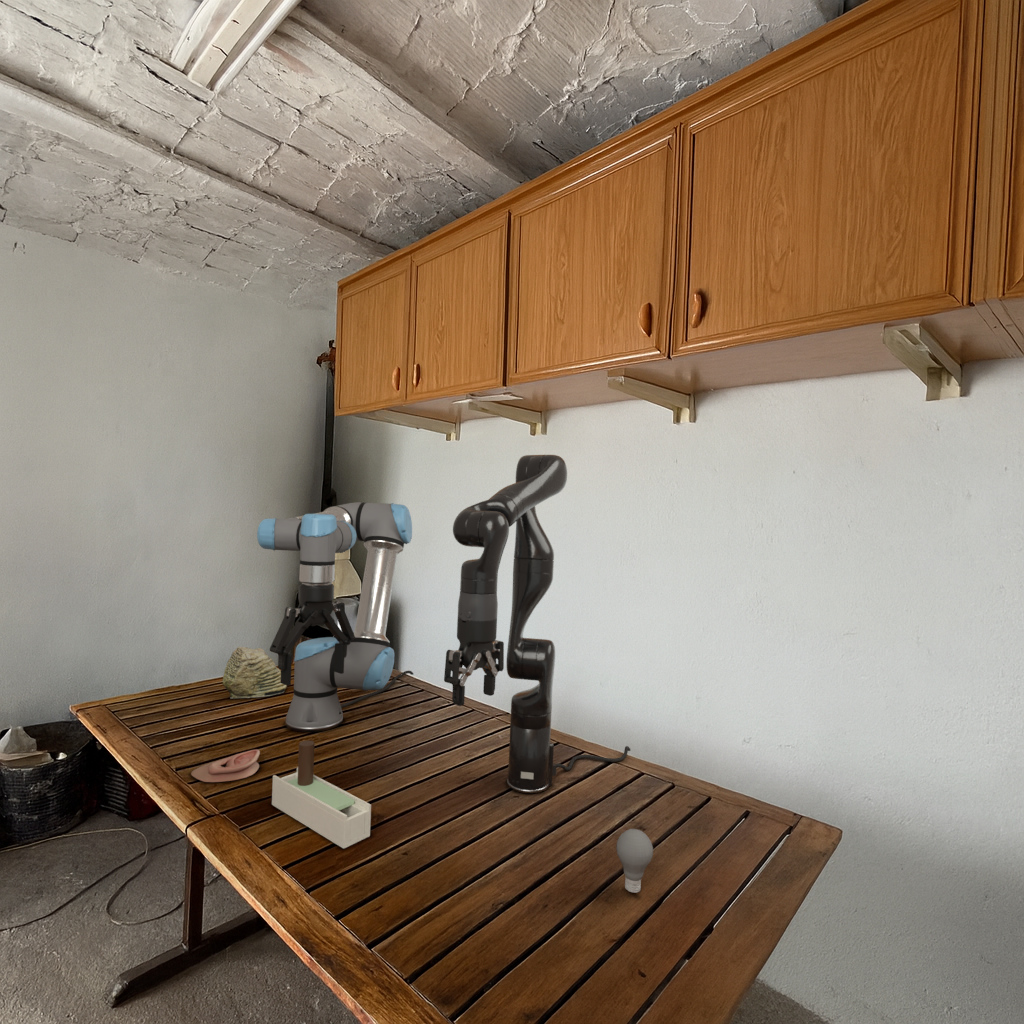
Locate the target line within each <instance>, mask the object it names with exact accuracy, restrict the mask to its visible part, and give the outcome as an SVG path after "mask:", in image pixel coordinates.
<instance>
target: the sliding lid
mask: <svg viewBox="0 0 1024 1024" xmlns="http://www.w3.org/2000/svg"><path fill="white" fill-rule="evenodd" d="M297 758H298V759H297V767H298V778H296V779H293V780H290V781H287V782H288V783H290V784H292V785H294V786H295V787H297V788H299V789H301V790H303V791H304V792H306V793H308V794H310V795H312V796H313V797H315V798H317V799H319V800H321V801H322V802H324V803H326V804H328V805H330V806H331V807H333V808H335V809H337V810H342V809H344V808H346V807H349V806H351V805H353V804H354V800H353V799H351V798H349V797H347V796H345V795H344V794H342V793H340V792H338V791H336V790H334V789H332V788H330V787H328V786H326V785H325V784H323V783H321V782H319V781H317V780H315V779H313V775H314V766H315V741H314V740H308V739H307V740H301V741H300V742H298V756H297Z"/></svg>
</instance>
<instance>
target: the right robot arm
mask: <svg viewBox="0 0 1024 1024" xmlns="http://www.w3.org/2000/svg"><path fill="white" fill-rule="evenodd" d="M567 480H568V469H567V464H566V461H565V459H564V458H562V457H561V456H560V455H558V454H557V455H556V454H528V455H527V454H525V455H522V456H521V457H520V458H519V459H518V461H517V464H516V469H515V483H512V484H509V485H507V486H505V487H503V488H501V489H500V490H498V491H497V492H496V493H495V494H493V495H492V496H491V497H489V498H488V499H486V500H483V501H480V502H477V503H475V504H472V505H470V506H467V507H465V508H464V509H463V510H461V511H460V512H459V513H458V515H457V516H456V517H455V518H454V521H453V525H452V533H453V537H454V539H455V540H456V542H457V543H459V544H460V545H462V546H464V547H468V548H469V547H471V548H481V549H482V548H483V551H482V553H481V556H479V558H473V559H467V560H465V561H463V562H462V564H461V568H460V583H459V585H460V586H459V597H458V602H457V623H456V625H457V626H456V638H457V640H458V642H459V647H458V649H456V650H453V649H447V650H446V651H445V652H446V653H445V664H444V675H443V676H444V677H443V681H444V682H445V683H447V684H451V686H452V695H451V700H452V703H453V704H454V705H455V706H459V707H462V706H464V705H465V697H466V696H465V693H466V685H465V683H466V682H467V680H468V678H469V677H470V676H471V675H472V674H473V672H474V671H476V670H478V669H482V670H483V672H484V675H483V688H482V689H483V694H484V695H487V696H488V697H489V696H490V697H491V696H494V695H495V690H496V677H497V676H498V673H499V672H503V671H504V667H505V666H506V672H507V676H508V677H509V678H510V679H514V680H525V681H537V682H538V683H537V684H536V685H535V686H533V687H530V688H529V689H525V690H522V691H517V692H516V693H515V694H513V695H512V697H511V700H510V702H511V703H510V720H509V721H510V723H509V743H508V744H509V745H508V747H509V748H508V766H507V767H508V771H507V781H506V782H507V783H506V784H507V786H508V787H509V788H510V789H511V790H513V791H515V792H518V793H523V794H538V793H542V792H545V791H546V790H547V789H548V788H549V787H553V777H554V776H556V775H557V768H559V769H562V770H564V771H566V772H568V771H571V770H572V767H573V765H574V763H575V761H577V760H579V759H580V760H581V759H589V760H596V761H600V762H607V763H617V762H622V761H624V760H625V759H626V757H627V756H628V752H631V751H632V750H631V747H629V746H627V745H626V746H625V747H624V750H623V754H622V756H620V757H617V758H615V757H614V758H613V757H611V758H610V757H604V756H598V755H591V754H579V755H576V756H573V757H572V758H571V759H570V761H569V764H568V766H566V765H565V764H562V763H554V748H555V747H554V746H555V745H554V743H553V742H551V734H552V733H551V731H552V712H553V710H552V709H553V684H554V674H555V665H556V645H555V643H554V642H553V641H552V640H551V639H547V638H546V639H545V638H544V639H543V638H535V637H534V638H532V637H524V631H525V628H526V625H527V623H528V620H529V619H530V617H531V615H532V614H533V612H534V610H535V608H537V606H538V605H539V604H540V602H541V601H542V600H543V598H544V596H545V595H546V593H547V592H548V591H549V589H550V588H551V585H552V583H553V580H554V567H555V565H554V564H555V563H554V562H555V552H554V548H553V546H552V544H551V541H550V539H549V538H548V536H547V534H546V532H545V530H544V528H543V526H542V525H541V522H540V520H539V517H538V515H537V510H536V506H537V505H539V504H541V503H542V502H544V501H546V500H548V499H550V498H552V497H554V496H556V495H558V494H560V493H561V492H562V491H563V490H564V488H565V487H566V484H567ZM514 524H515V538H514V539H515V540H514V541H515V542H514V550H513V562H512V563H513V564H512V565H513V566H512V594H511V595H512V597H511V614H510V622H509V632H508V642H507V649H506V650H507V651H506V660H505V659H504V658H505V642H504V641H501V640H498V639H497V629H498V628H497V627H498V605H499V604H498V577H499V576H498V574H499V569H500V564H501V561H502V558H503V554H504V550H505V548H506V544H507V541H508V538H509V535H510V527H512V526H513V525H514ZM505 661H506V663H505ZM504 663H505V664H506V665H505V664H504ZM504 665H505V666H504Z"/></svg>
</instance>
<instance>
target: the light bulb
mask: <svg viewBox="0 0 1024 1024" xmlns="http://www.w3.org/2000/svg"><path fill="white" fill-rule="evenodd" d="M615 849H616V854H617V857H618V859H619V861H620V863H621V865H622V867H623V873H624V874H623V875H624V876H625V878H624V888H625V890H627V891H628V892H630V893H634V894H635V893H639V892H640V891H641V889H642V887H641V886H642V879H643V877H644V875H645V871H646V868H647V867H648V866H649V864H650V863H651V861H652V859H653V855H654V847H653V843H652V841H651V838H649V836H648V835H647V834H646V833H645V832H643V831H642V830H641V829H636V828H629V829H627V830H625V831H623V832H622V833H621V834H620V835H619V837H618V839H617V841H616V847H615Z"/></svg>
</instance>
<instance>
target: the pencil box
mask: <svg viewBox="0 0 1024 1024" xmlns="http://www.w3.org/2000/svg"><path fill="white" fill-rule="evenodd" d="M296 778H298V766H297V767H296V772H294V773H291V774H289V775H285V776H282V777H279V776H277V775H276V774H274V775H272V785H271V786H272V787H271V789H272V790H271V805H272V806H273V807H275V808H276V809H278V810H280V811H281V812H282V813H284V814H286V815H288V816H289V817H291V818H293V819H294V820H296V821H298V822H299V823H301V824H303V825H304V826H305V827H307V828H309V829H311V830H312V831H314V832H315V833H317V834H318V835H320V836H322V837H323V838H325V839H327V840H328V841H330V842H332V843H333V844H335V845H337V846H338V847H340V848H341V849H346V848H348V847H350V846H353V845H355V844H357V843H358V842H361V841H362V840H365V839H367V838H370V836H371V823H372V822H371V821H372V820H371V819H372V804H370V803H369V802H367V801H365V800H363V799H361V798H359V797H357V796H355V795H353V794H351V793H350V792H348V791H346V790H344V789H342V788H340V787H339V786H336V785H335V784H333V783H330V782H328V781H327V780H324V779H323V778H321V777H319V776H317V775H315V774H313V779H315V780H317V781H319V782H321V783H323V784H325V785H326V786H328V787H330V788H332V789H334V790H336V791H338V792H340V793H342V794H344V795H345V796H347V797H349V798H351V799H353V800H354V804H353V805H351V806H349V807H346V808H344V809H342V810H337V809H335V808H333V807H331V806H330V805H328V804H326V803H324V802H322V801H321V800H319V799H317V798H315V797H313V796H312V795H310V794H308V793H306V792H304V791H303V790H301V789H299V788H297V787H295V786H294V785H292V784H290V783H288V782H287V781H290V780H293V779H296Z"/></svg>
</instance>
